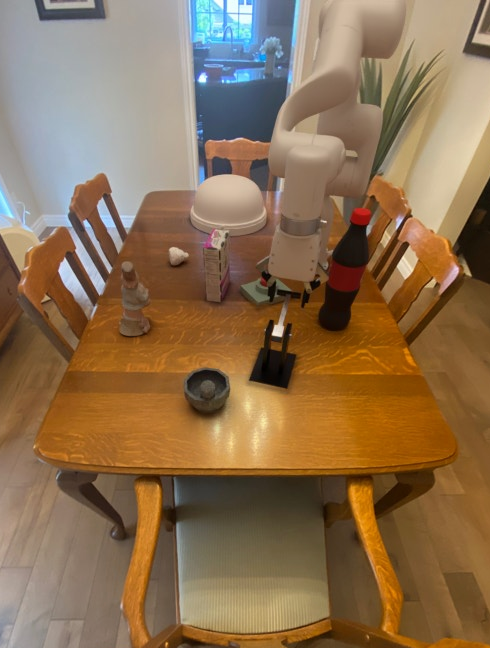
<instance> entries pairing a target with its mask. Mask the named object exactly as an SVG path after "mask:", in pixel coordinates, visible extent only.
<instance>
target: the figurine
mask: <svg viewBox="0 0 490 648" xmlns="http://www.w3.org/2000/svg"><path fill="white" fill-rule="evenodd" d="M120 267H121V268H120V269H121V275H120V276H119V278H120V282H121V284H122V285H121V286H120V287H121V288H120V294H121V300H120V301H121V306H122V309H123V312H122V315H121V316H120V321H119V322H118V326H119V332H120V334H121V335H123V336H126V337H136V336H141V335H144V334H146V333H148V332H149V330H150V329H151V325H150V322H149V319H148V318H147V317H146V316H144V314H143V312H142V311H143V309H144V308H147V307H149V306H150V305H151V303H152V300H151V298H150V295H149V294H150V290H149V288H147V287H146V286H145V285H144V284H143V283H141V282H140V281H139V280H140V276H139V274H138V273H137V271H136V269H135V266H134V264H133V263H132V262H131V261H128V260H126V261H123V262H122V263H121V266H120Z"/></svg>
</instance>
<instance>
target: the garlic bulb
mask: <svg viewBox="0 0 490 648" xmlns="http://www.w3.org/2000/svg"><path fill="white" fill-rule="evenodd" d="M189 256H190V255H189V253H188V252H185V251H183V249H180V248H179V247H175V246H172V247H170V248H168V257H169V262H170V264H171V265H172V266H173V267H175V266H179V265H180V264H181V263H182V262H183V261H184V260H186V259H188V258H189Z"/></svg>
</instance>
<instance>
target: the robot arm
mask: <svg viewBox="0 0 490 648" xmlns="http://www.w3.org/2000/svg"><path fill="white" fill-rule="evenodd" d="M406 4H407V3H406V1H405V0H327V1H326V2H324V3H323V4H322V6H321V9H320V11H319V15H318V27H317V28H318V39H319V40H318V44H317V49H316V52H315V57H314V60H313V65H312V69H311V74H310V75H309V76H308V77H307V78H305V79H304V80H303V81H302V82H301V83H300V84H299V85H297V87H295V88H294V89H293V90H292V91H291V92H290V94H289V95H288V97H286V99H285V100H284V102H283V103H282V105H281V106H280V109H279V110H278V113H277V116H276V119H275V123H274V126H273V130H272V134H271V139H270V144H269V149H268V156H267V163H268V169H269V171H270V173H271V174H272V175H273V176H275V177H276V178H280V179H283V180H284V181H283V189H282V197H281V198H282V199H281V207H280V208H281V209H280V217H279V223H277V224H276V226H275V228H274V229H275V230H274V233H273V238H272V241H271V247H270V252H269V255H267V256H266V257H264V258H262V259H261V260H259V261H258V262H257V263H256V265H255V269H256V270H257V272H258V273H259V274H260V276H261V278H263V279H264V280H265V281H266V282H267V285H268V295H267V296H268V297H270V299H269V302H273V299H274V297H275V291H276V283H277V282H276V279H278V278H280V279H286V280H292V281H297V282H303V286H304V290H303V293H302V297H301V298H302V299H301V303H300V308H301V309H305V305H306V304H309V301H310V298H311V297H310V296H311V293H312V292H313V291H315V290H316V289H318V288H319V287H320V286H321V285H324V284H325V283H326V281H327V280H328V279H329V274H328V273H329V272H328V271H327V270H328V268H329V261H328V259H329V258H330V257H331V258H332V253H333V250H334V249H331V250H330V249H329V248H328V245H329V240H330V236H331V231H332V226H333V222H334V217H335V205H334V202H333V200H332V198H331V197H341V198H350V199H358V198H360V197H362V196H363V195H364V194H365V192H366V190H367V187H368V184H369V181H370V177H371V173H372V169H373V165H374V161H375V158H376V154H377V149H378V145H379V142H380V139H381V138H380V137H381V135H382V128H383V122H384V113H383V110H382V109H381V107H380V106H378V105H375V104H369V103H360V102H358V95H359V90H360V86H361V83H362V82H361V81H362V71H361V67H360V63H361V60H362V59H363V58H365V59H380V60H382V59H383V60H388V59H390V58H392V57H393V56H394V54H395V52H396V50H397V49H398V47H399V45H400V41H401V38H402V36H403V33H404V28H405V23H406V16H407V5H406ZM316 115H318V118H317V125H316V133H310V132H309V133H308V132H300V131H293V129H294V128H295V127H296V126H297V125H299V123H301V122H302V121H304V120H306V119H309V118H311V117H313V116H316ZM347 151H351V152H355V153H356V155H357V156H354V155H353V156H352V155H347ZM266 266H268V267H267V269H266ZM316 275H319V277H318V278H316V279H315V277H316Z"/></svg>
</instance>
